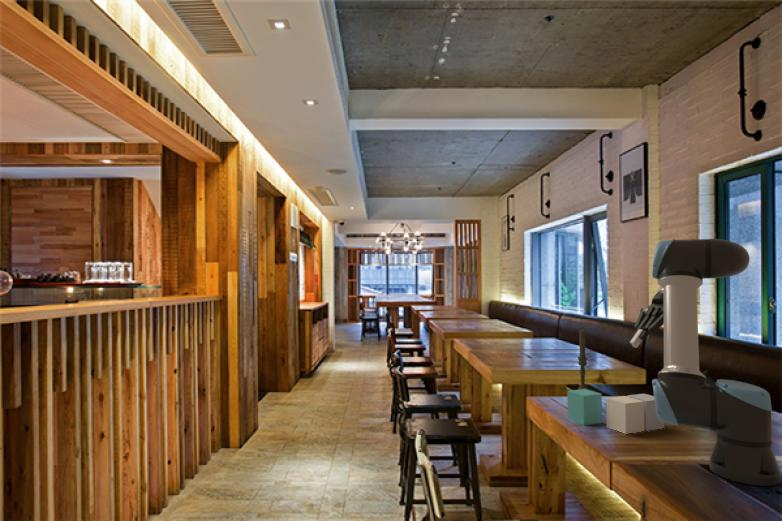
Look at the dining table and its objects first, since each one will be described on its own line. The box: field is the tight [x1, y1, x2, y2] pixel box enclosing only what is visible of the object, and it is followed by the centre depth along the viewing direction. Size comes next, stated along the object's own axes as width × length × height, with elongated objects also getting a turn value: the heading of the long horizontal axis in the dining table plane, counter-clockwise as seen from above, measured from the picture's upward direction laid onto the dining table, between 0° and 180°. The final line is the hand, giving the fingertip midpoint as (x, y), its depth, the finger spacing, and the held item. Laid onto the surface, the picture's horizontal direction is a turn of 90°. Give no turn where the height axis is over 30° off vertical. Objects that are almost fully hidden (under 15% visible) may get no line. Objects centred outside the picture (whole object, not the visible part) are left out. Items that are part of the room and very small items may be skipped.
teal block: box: [566, 388, 603, 426], centre depth 178 cm, size 8×8×10 cm
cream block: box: [606, 395, 645, 435], centre depth 167 cm, size 8×8×10 cm
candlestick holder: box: [577, 328, 589, 390], centre depth 199 cm, size 9×9×30 cm
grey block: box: [626, 393, 665, 432], centre depth 171 cm, size 8×8×10 cm
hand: (633, 344), depth 183 cm, fingers closed
